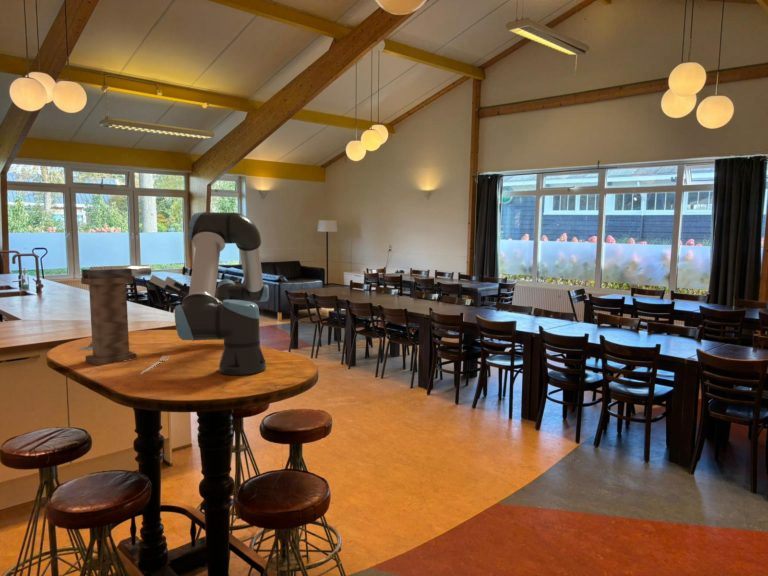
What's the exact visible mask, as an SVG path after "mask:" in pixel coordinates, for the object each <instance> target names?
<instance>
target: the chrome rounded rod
mask: <svg viewBox="0 0 768 576" xmlns="http://www.w3.org/2000/svg"><path fill="white" fill-rule="evenodd" d="M89 269H90V270H109V269H132V277H143V276H144V277H146V276H152V267H151V265H150V264H138V265H136V264H134V265H133V264H132V265H112V266H111V265H109V266H103V265H102V266H90V267H89Z"/></svg>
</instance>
